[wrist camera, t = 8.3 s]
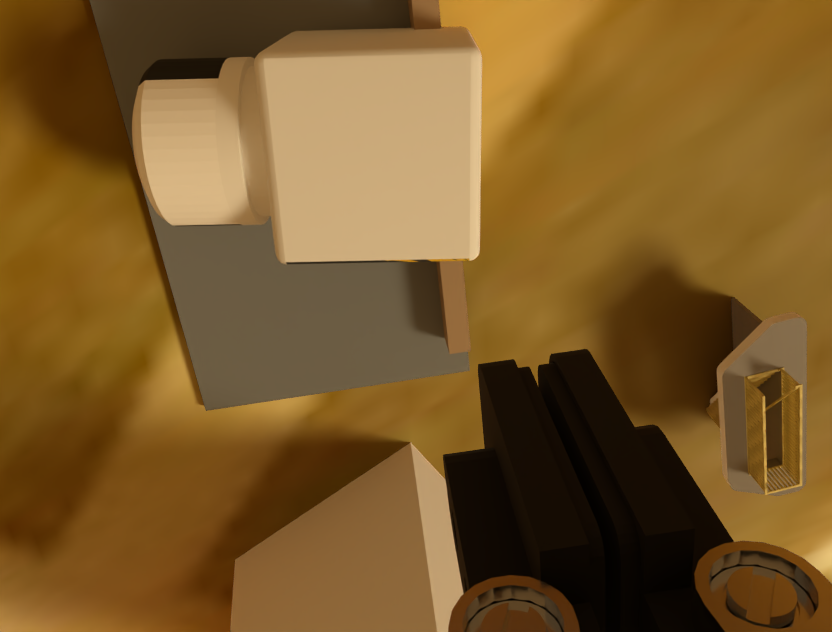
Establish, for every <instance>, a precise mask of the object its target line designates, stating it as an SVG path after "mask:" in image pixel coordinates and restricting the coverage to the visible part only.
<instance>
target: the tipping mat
mask: <svg viewBox="0 0 832 632" xmlns="http://www.w3.org/2000/svg"><path fill="white" fill-rule="evenodd" d="M90 4H91V7H92V11H93V15H94V18H95V22H96V25H97V29H98V32H99V36H100V39H101V43H102V46H103V50H104V53H105V57H106V60H107V64H108V67H109V71H110V74H111V78H112V82H113V85H114V89H115V92H116V96H117V99H118V103H119V106H120V110H121V113H122V117H123V120H124V124H125V127H126V131H127V134H128V138H129V141H130V145H131V149H132V152H133V156H134V150H133V140H132V117H133V108H134V103H135V99H136V95H137V90H138V86H139V83H140V80H141V78H142V76H143V74H144V72H145V71H146V70H147V69H148V68H149V67H150V66H151V65H152V64H153V63H154V62H155V61H157V60H160V59H187V58H226V57H253V58H254V59H255V57H256V56H257V55H258V54H259V53H260V52H261V51H263V50H264V49H266V48H268V47H269V46H271V45H272V44H274V43H276V42H277V41H279V40H280V39H282V38H283V37H285V36H287V35H288V34H290V33H291V32H294V31H313V30H351V29H389V28H414V29H415V30H418V29H441V22H440V12H439V1H438V0H90ZM134 159H135V156H134ZM135 163H136V162H135ZM141 184H142V183H141ZM142 187H143V185H142ZM143 191H144V194H145V198H146V201H147V205H148V208H149V212H150V215H151V219H152V223H153V226H154V230H155V233H156V237H157V240H158V244H159V247H160V251H161V254H162V258H163V261H164V265H165V268H166V272H167V275H168V279H169V282H170V286H171V290H172V293H173V297H174V300H175V304H176V307H177V311H178V314H179V318H180V321H181V325H182V328H183V332H184V335H185V339H186V342H187V346H188V349H189V353H190V357H191V360H192V364H193V367H194V371H195V374H196V378H197V381H198V385H199V388H200V392H201V395H202V399H203V402H204V406H205V409H206V411H207V410H214V409H221V408H227V407H234V406H240V405H247V404H253V403H260V402H267V401H273V400H280V399H286V398H293V397H299V396H306V395H313V394H319V393H326V392H332V391H339V390H345V389H352V388H359V387H365V386H372V385H378V384H385V383H391V382H398V381H405V380H411V379H418V378H424V377H431V376H437V375H444V374H450V373H457V372H464V371H470V370H469V359H468V351H471V347H470V337H469V326H468V315H467V304H466V293H465V282H464V272H463V261H431V262H381V263H332V264H283V263H281V262H280V261H279V260H278V259H277V257H276V253H275V246H274V238H273V230H272V221H271V216H269V218H268V220H267V222H266V223H265V224H262V225H220V226H173V225H171V224H170V223H168V222H167V221H166V220H164V219H163V218H162V217H160V216H159V215H158V214H157V212H156V211H155V210H154V208H153V206H152V205H151V203H150V201H149V199H148V196H147V194H146V192H145V190H144V188H143Z"/></svg>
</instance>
